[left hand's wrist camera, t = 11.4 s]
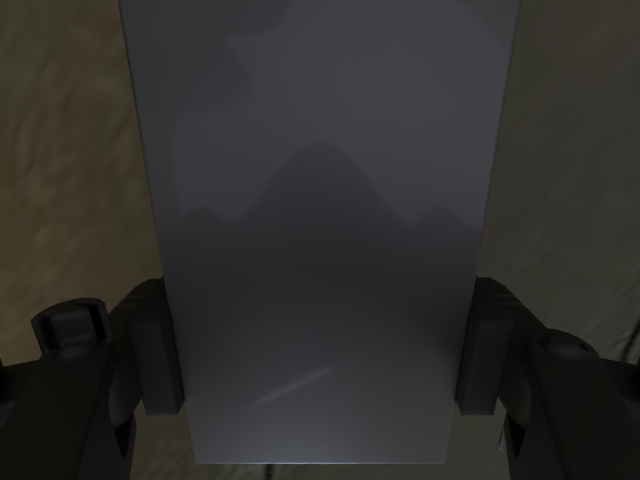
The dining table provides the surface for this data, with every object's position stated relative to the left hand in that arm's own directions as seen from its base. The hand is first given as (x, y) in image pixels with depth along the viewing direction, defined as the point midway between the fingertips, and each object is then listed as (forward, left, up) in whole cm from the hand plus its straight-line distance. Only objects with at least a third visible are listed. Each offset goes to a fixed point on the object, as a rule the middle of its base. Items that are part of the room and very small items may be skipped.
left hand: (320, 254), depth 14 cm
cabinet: (0, +5, -5) cm, 7 cm away
